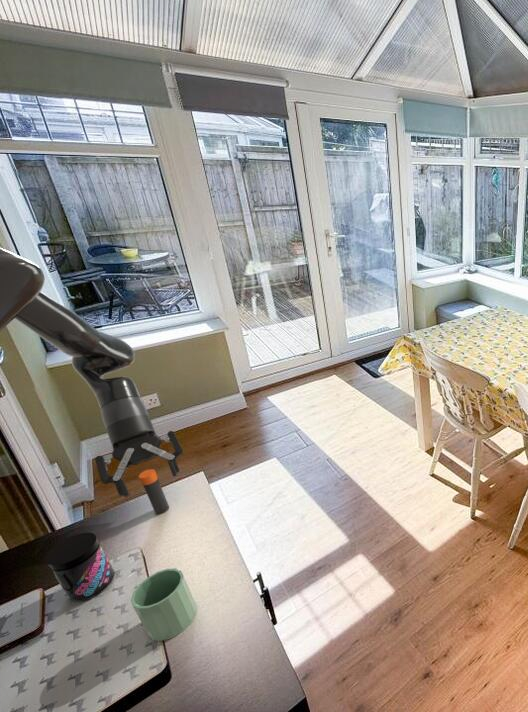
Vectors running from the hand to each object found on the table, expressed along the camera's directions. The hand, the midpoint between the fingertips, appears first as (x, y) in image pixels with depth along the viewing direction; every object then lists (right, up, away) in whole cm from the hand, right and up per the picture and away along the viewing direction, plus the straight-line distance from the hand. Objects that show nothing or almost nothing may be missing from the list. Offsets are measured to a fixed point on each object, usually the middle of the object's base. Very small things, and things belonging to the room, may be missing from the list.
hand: (152, 486), depth 92 cm
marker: (-1, -7, +4) cm, 8 cm away
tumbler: (+19, -18, -18) cm, 31 cm away
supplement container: (-1, -15, -13) cm, 19 cm away
